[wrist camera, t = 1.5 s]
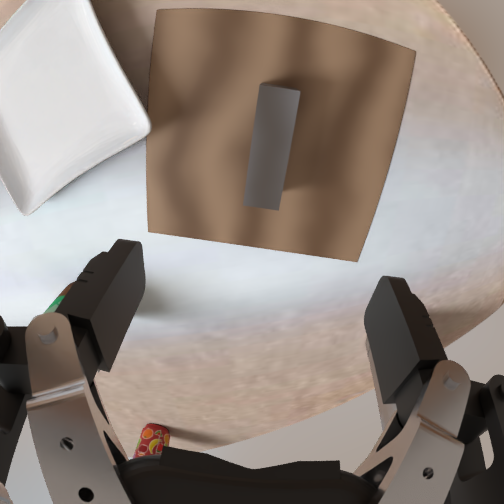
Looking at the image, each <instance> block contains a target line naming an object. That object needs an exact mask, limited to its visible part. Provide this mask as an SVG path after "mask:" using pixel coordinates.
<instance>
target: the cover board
mask: <svg viewBox="0 0 504 504" xmlns="http://www.w3.org/2000/svg"><path fill="white" fill-rule="evenodd" d="M415 53H416V52H415V51H413V50H410V49H408V48H405V47H402V46H400V45H397V44H394V43H391V42H389V41H386V40H383V39H380V38H377V37H373V36H370V35H367V34H364V33H360V32H357V31H353V30H349V29H346V28H342V27H338V26H334V25H330V24H325V23H321V22H316V21H311V20H306V19H301V18H295V17H289V16H283V15H276V14H268V13H260V12H250V11H238V10H222V9H165V10H157V13H156V20H155V27H154V36H153V45H152V54H151V65H150V77H149V92H148V110H147V114H148V116H149V118H150V120H151V123H152V129H151V132H150V133H149V134H148V135H147V142H146V186H147V218H148V232H152V233H159V234H166V235H173V236H180V237H187V238H194V239H201V240H208V241H215V242H222V243H229V244H236V245H243V246H250V247H257V248H264V249H271V250H278V251H285V252H292V253H299V254H305V255H312V256H319V257H326V258H333V259H339V260H346V261H353V262H357V261H358V258H359V255H360V253H361V250H362V247H363V245H364V242H365V239H366V236H367V233H368V231H369V228H370V225H371V222H372V219H373V216H374V213H375V210H376V207H377V204H378V201H379V198H380V195H381V192H382V188H383V185H384V182H385V179H386V175H387V172H388V168H389V165H390V162H391V158H392V154H393V151H394V147H395V144H396V140H397V136H398V132H399V128H400V124H401V120H402V116H403V112H404V108H405V103H406V99H407V94H408V90H409V85H410V80H411V75H412V70H413V65H414V59H415Z"/></svg>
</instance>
